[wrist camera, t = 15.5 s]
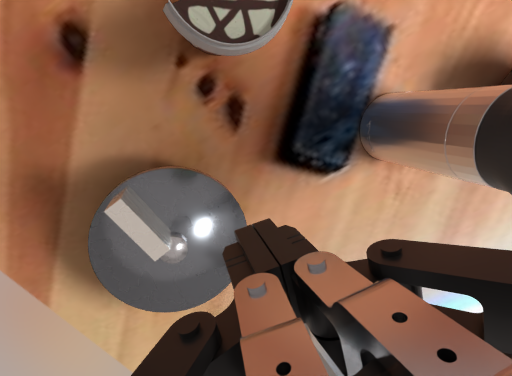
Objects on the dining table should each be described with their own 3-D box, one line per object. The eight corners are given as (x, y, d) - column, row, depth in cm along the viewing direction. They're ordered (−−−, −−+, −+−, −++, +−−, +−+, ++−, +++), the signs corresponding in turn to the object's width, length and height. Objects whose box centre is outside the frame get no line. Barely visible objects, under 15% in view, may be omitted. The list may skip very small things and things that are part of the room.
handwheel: (271, 242, 39) (289, 268, 33) (163, 329, 38) (162, 372, 32) (183, 134, 33) (186, 140, 27) (54, 233, 33) (26, 263, 26)
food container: (193, 85, 36) (201, 77, 26) (164, 32, 34) (162, 2, 24) (284, 38, 37) (323, 14, 28) (262, -17, 35) (295, -62, 26)
